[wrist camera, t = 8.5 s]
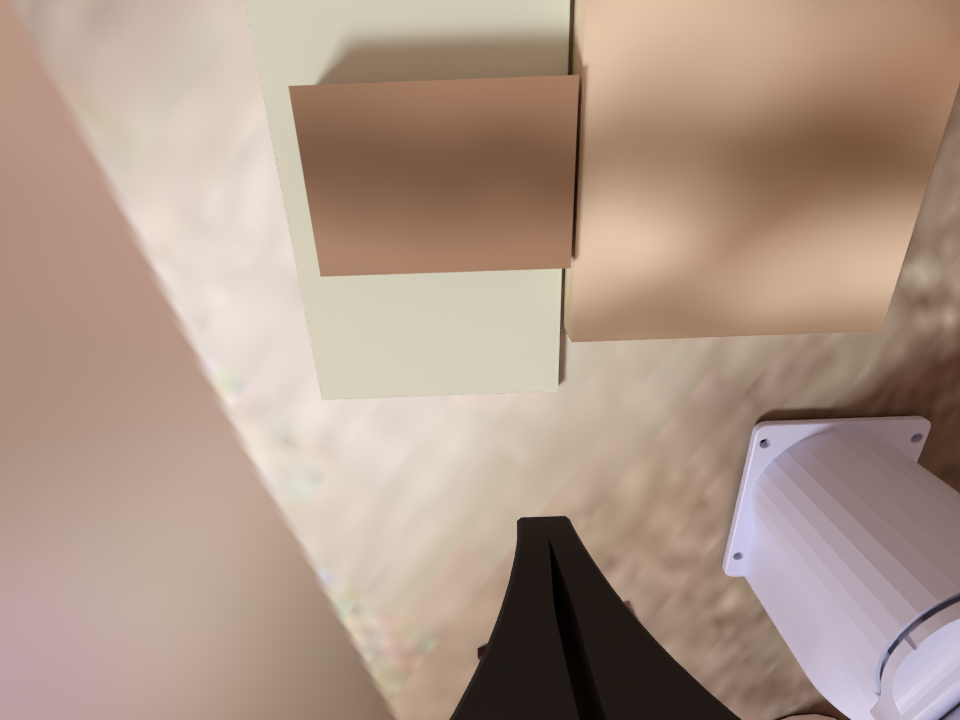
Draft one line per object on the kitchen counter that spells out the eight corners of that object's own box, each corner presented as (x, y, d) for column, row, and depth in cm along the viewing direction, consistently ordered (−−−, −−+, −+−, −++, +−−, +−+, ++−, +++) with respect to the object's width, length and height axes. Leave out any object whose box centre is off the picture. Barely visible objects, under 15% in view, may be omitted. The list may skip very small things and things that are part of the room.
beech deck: (844, 314, 20) (881, 330, 19) (563, 325, 20) (571, 342, 19) (943, -37, 16) (1005, -62, 14) (574, -20, 16) (587, -43, 14)
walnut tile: (561, 256, 19) (570, 268, 17) (335, 264, 19) (320, 276, 17) (567, 83, 17) (579, 74, 15) (309, 93, 17) (288, 85, 15)
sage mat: (556, 387, 22) (557, 391, 21) (324, 395, 22) (322, 399, 21) (572, -142, 14) (574, -149, 14) (225, -125, 15) (219, -132, 14)
